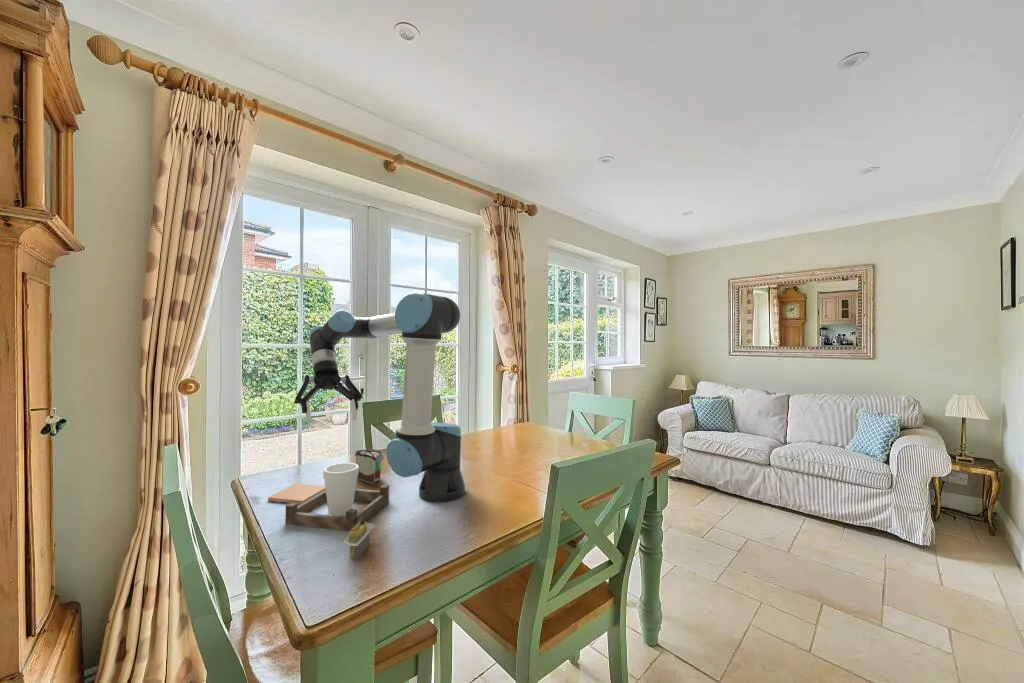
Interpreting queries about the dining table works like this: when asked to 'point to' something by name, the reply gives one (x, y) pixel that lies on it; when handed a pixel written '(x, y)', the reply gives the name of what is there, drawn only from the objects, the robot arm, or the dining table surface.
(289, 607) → the dining table surface
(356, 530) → the grey yellow plug connector
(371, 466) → the cake slice
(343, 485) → the foam cup
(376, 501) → the frame
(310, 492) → the terracotta tile
